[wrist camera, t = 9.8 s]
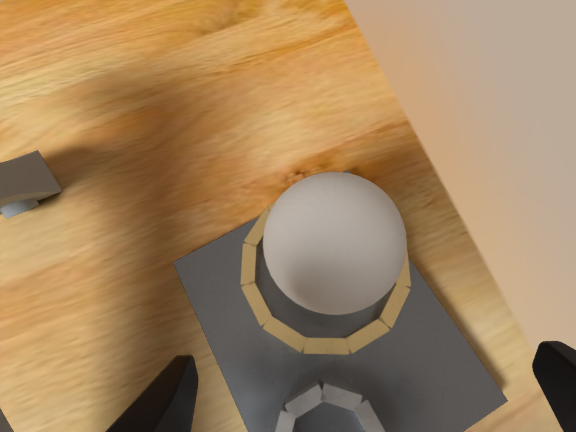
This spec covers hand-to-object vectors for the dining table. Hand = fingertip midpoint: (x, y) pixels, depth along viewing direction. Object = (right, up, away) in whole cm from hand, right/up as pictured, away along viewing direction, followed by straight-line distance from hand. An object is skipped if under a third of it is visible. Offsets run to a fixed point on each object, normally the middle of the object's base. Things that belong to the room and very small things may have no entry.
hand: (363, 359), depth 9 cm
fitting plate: (0, -3, +12) cm, 12 cm away
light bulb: (0, 0, +12) cm, 12 cm away
